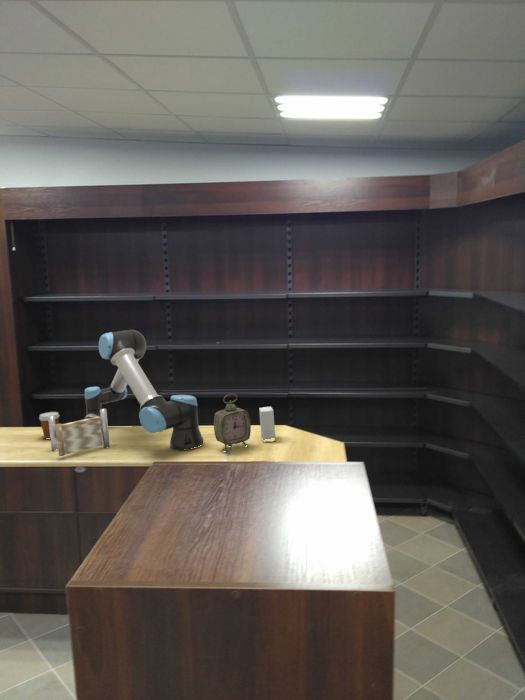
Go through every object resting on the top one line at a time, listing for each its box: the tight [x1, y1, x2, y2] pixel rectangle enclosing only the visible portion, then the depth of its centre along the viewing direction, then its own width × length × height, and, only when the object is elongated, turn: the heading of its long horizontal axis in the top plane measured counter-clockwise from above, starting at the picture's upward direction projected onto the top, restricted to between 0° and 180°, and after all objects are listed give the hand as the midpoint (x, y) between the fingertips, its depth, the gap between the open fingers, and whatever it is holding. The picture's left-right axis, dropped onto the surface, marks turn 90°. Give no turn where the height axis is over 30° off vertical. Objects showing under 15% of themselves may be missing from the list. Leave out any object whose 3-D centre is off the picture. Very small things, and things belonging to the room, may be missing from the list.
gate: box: [56, 416, 103, 457], centre depth 243 cm, size 20×2×14 cm, turn 129°
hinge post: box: [100, 407, 111, 449], centre depth 250 cm, size 3×3×18 cm
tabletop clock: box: [213, 393, 252, 452], centre depth 240 cm, size 14×9×25 cm, turn 123°
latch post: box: [48, 416, 58, 451], centre depth 249 cm, size 3×3×16 cm
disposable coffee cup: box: [38, 411, 60, 439], centre depth 269 cm, size 10×10×12 cm
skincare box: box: [258, 406, 276, 441], centre depth 250 cm, size 8×6×15 cm
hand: (75, 438), depth 243 cm, fingers closed
